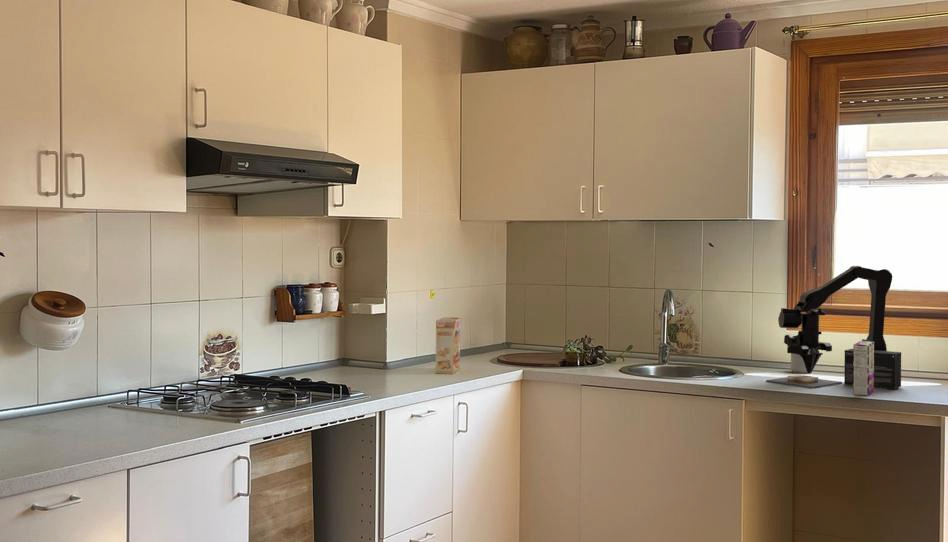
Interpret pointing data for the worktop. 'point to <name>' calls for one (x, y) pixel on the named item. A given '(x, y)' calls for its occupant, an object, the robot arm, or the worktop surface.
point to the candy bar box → (863, 368)
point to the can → (797, 364)
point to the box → (878, 369)
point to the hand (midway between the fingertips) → (809, 373)
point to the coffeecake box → (448, 345)
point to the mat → (814, 385)
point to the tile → (802, 379)
